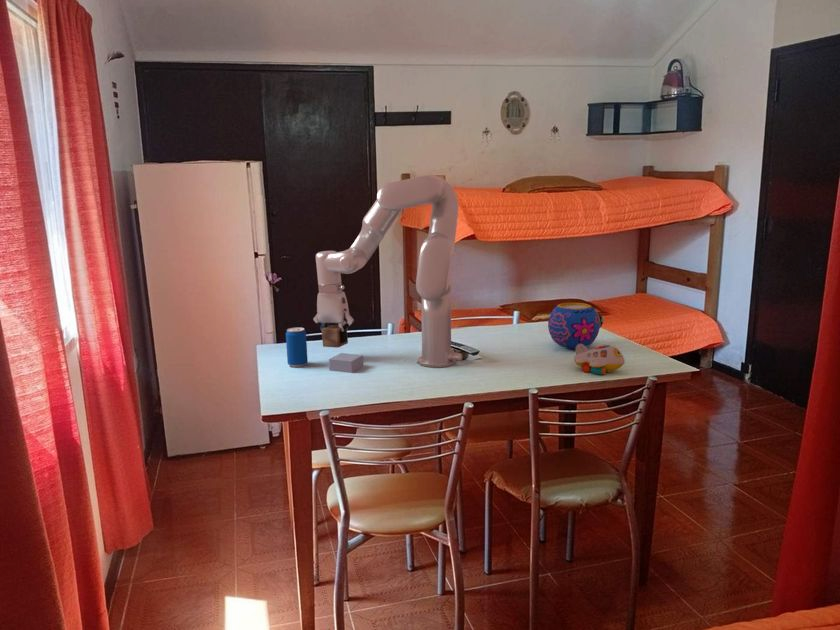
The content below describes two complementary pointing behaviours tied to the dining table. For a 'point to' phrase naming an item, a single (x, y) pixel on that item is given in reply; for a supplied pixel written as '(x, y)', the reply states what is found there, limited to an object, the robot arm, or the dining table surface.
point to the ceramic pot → (574, 324)
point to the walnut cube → (332, 336)
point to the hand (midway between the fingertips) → (335, 341)
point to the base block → (346, 362)
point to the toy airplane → (598, 359)
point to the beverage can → (296, 347)
